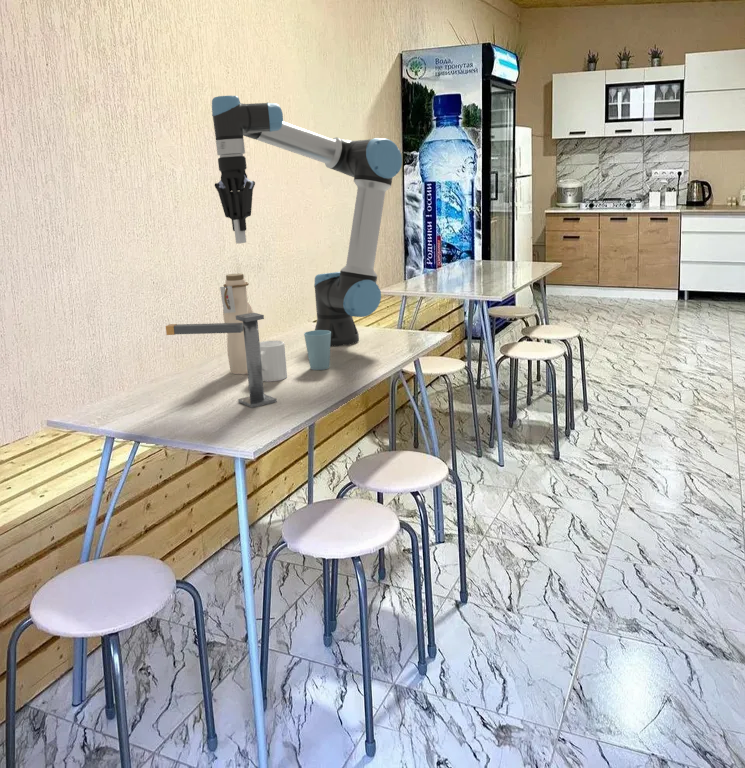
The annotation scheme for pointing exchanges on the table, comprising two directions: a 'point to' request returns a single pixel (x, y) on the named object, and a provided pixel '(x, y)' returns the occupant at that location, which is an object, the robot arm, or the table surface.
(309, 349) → the cup
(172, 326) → the bar
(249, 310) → the water bottle
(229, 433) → the table surface
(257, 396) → the post
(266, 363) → the mug
